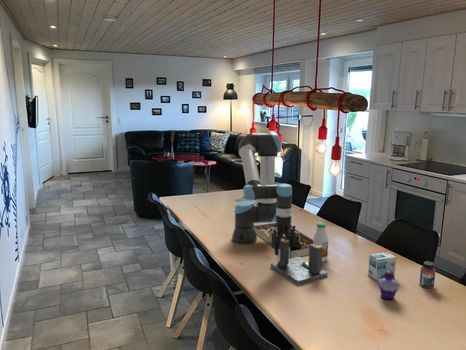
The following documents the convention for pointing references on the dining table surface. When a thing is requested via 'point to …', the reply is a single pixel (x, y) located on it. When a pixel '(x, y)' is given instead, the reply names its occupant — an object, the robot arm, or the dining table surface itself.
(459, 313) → the dining table surface
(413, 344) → the dining table surface
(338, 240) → the dining table surface
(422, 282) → the supplement bottle
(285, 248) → the yellow-tipped grey bar
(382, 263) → the light bulb box
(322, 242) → the milk bottle
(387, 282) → the potion bottle
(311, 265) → the knob
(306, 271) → the levelling plate
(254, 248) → the dining table surface
